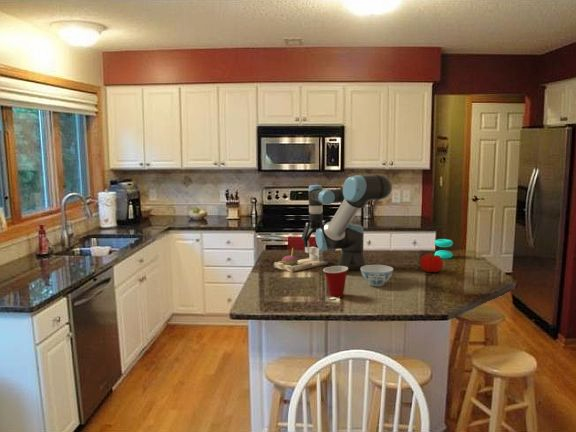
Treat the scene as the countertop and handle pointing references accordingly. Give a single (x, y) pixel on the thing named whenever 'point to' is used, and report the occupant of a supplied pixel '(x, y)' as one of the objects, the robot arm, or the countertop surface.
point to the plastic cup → (336, 279)
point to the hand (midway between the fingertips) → (316, 251)
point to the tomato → (431, 263)
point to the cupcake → (290, 259)
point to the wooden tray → (305, 261)
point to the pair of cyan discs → (443, 253)
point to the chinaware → (376, 274)
